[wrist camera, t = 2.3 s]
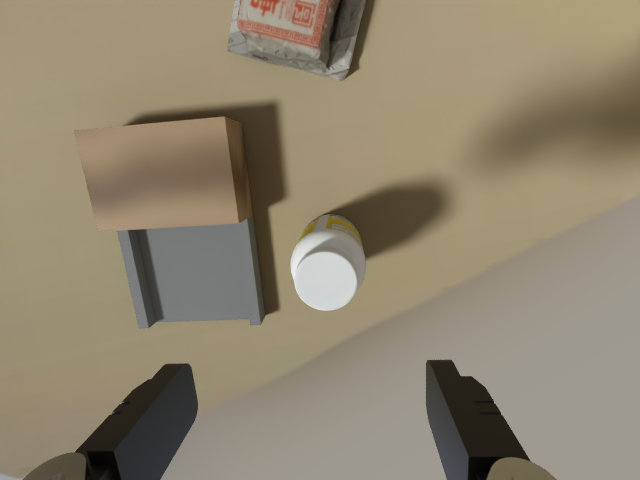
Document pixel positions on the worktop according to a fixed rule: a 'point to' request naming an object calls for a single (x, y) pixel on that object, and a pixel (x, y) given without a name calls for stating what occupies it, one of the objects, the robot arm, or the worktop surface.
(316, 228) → the supplement bottle
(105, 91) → the worktop surface
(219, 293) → the tray
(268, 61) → the packaged product
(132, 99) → the worktop surface
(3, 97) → the worktop surface
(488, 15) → the worktop surface
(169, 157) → the brown box
